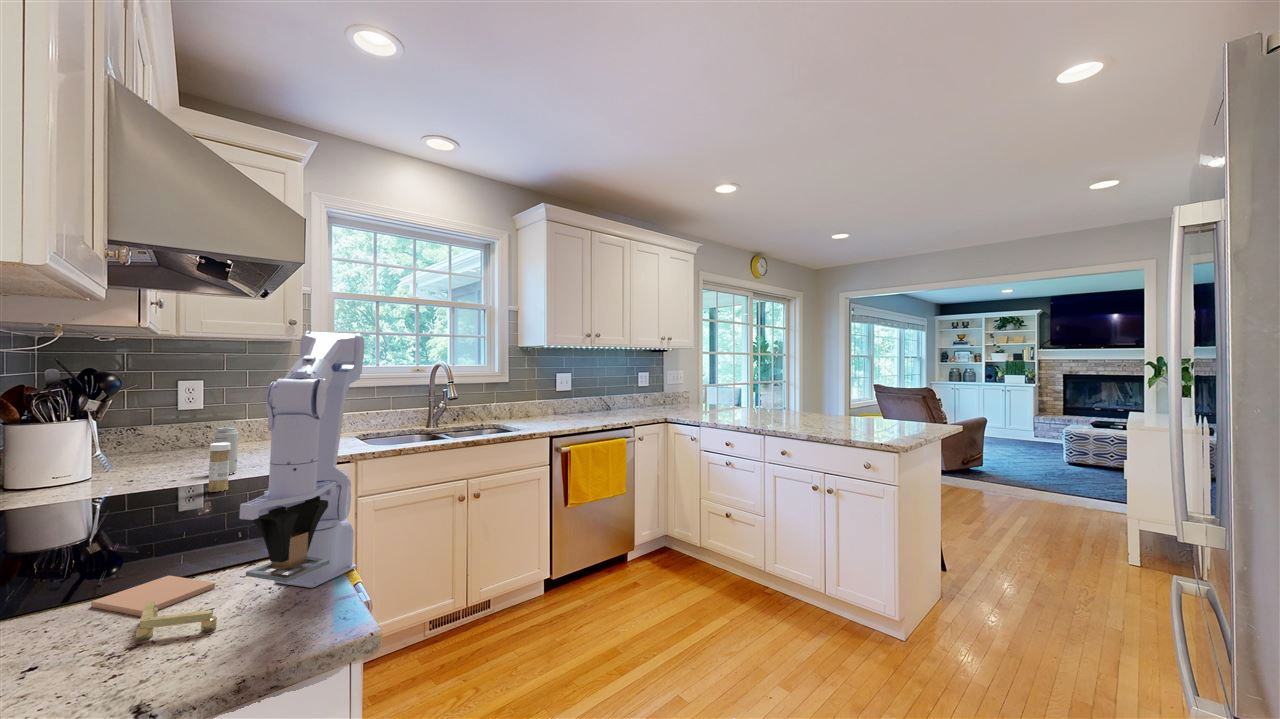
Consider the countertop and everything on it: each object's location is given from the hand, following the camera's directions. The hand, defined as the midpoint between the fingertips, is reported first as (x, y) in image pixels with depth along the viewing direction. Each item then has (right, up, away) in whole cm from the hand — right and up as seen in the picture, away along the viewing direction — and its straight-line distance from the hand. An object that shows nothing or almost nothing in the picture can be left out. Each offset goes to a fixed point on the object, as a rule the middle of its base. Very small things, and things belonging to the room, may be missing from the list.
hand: (289, 556), depth 72 cm
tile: (-25, -9, +5) cm, 27 cm away
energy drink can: (-85, -9, +92) cm, 126 cm away
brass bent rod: (-14, -8, -4) cm, 17 cm away
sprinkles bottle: (-70, -9, +71) cm, 100 cm away
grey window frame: (0, -2, 0) cm, 2 cm away
